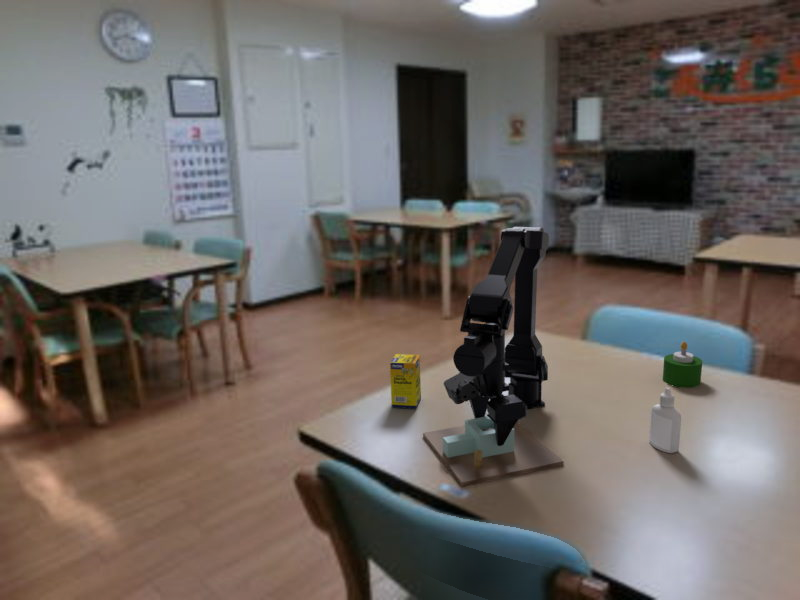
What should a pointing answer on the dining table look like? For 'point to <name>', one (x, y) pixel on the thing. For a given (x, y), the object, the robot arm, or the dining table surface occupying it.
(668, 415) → the eye dropper bottle
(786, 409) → the dining table surface
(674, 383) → the candle
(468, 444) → the collar
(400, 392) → the supplement box
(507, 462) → the board
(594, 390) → the dining table surface
